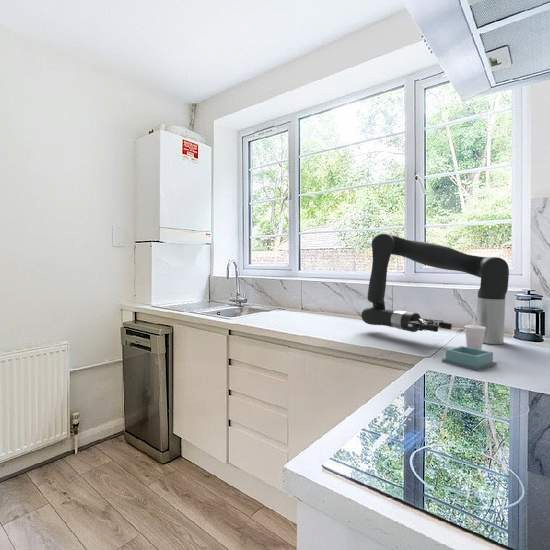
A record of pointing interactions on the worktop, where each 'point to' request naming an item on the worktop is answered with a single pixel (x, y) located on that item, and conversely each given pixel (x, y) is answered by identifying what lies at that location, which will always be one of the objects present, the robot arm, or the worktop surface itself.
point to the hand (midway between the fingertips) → (444, 327)
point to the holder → (469, 358)
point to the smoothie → (474, 335)
